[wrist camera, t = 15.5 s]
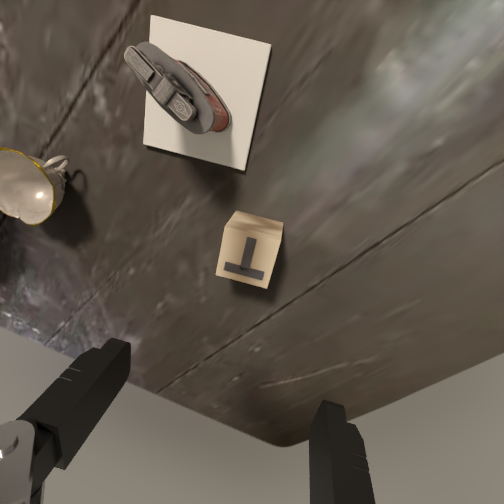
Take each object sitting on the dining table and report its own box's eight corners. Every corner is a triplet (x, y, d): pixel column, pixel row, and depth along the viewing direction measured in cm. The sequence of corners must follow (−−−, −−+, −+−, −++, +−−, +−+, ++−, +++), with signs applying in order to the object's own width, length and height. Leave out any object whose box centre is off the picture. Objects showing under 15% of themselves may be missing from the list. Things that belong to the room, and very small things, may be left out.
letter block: (283, 222, 35) (280, 241, 29) (271, 266, 37) (266, 291, 32) (236, 210, 35) (224, 226, 29) (227, 254, 37) (214, 277, 32)
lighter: (239, 116, 30) (214, 112, 21) (217, 140, 31) (185, 146, 22) (182, 52, 28) (128, 17, 19) (162, 80, 29) (103, 60, 20)
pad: (271, 46, 27) (271, 44, 27) (245, 169, 32) (244, 170, 32) (153, 16, 28) (150, 14, 27) (145, 143, 33) (143, 144, 32)
